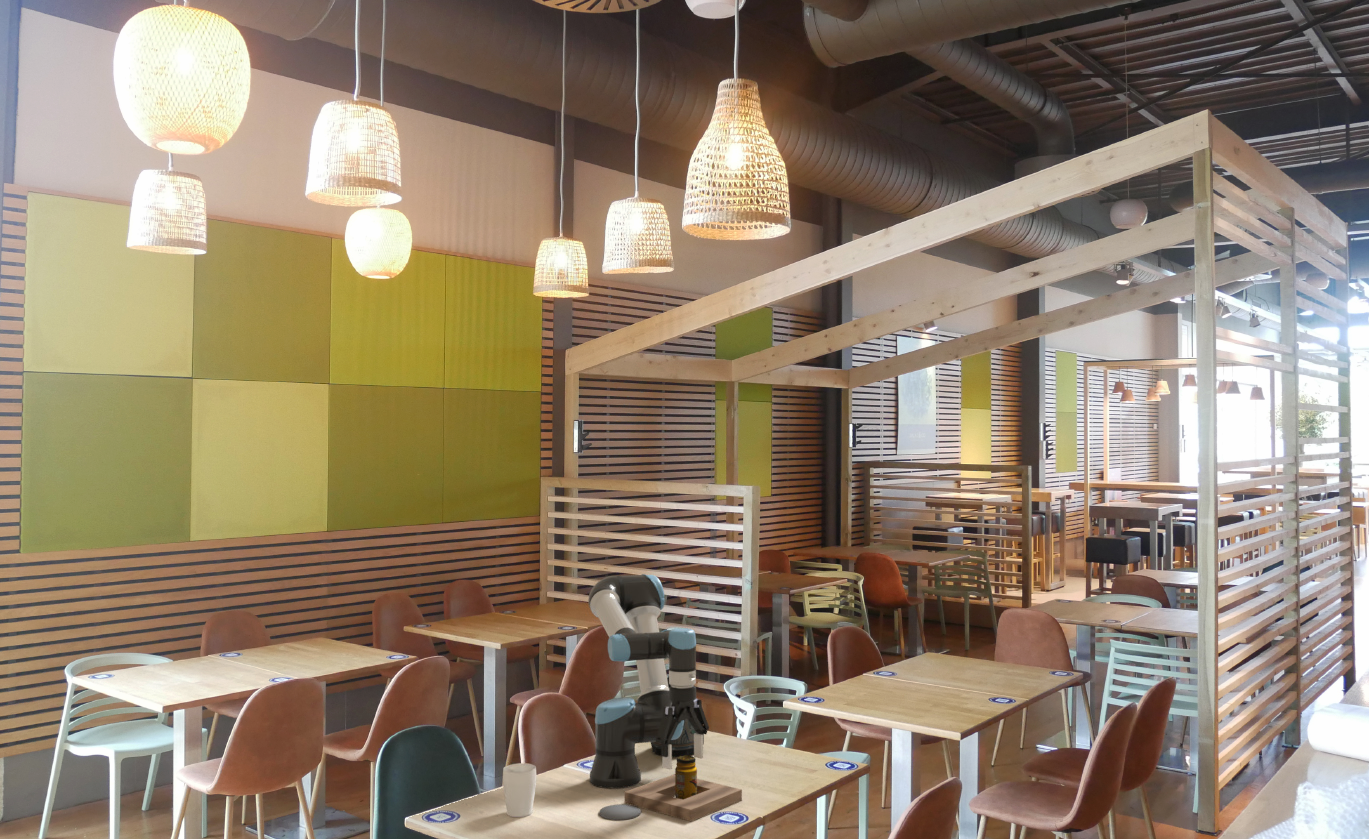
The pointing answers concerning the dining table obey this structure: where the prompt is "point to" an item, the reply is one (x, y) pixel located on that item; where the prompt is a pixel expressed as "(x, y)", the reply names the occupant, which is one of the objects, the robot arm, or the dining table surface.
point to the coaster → (620, 812)
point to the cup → (519, 788)
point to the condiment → (685, 777)
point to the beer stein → (679, 741)
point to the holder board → (692, 808)
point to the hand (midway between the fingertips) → (683, 762)
